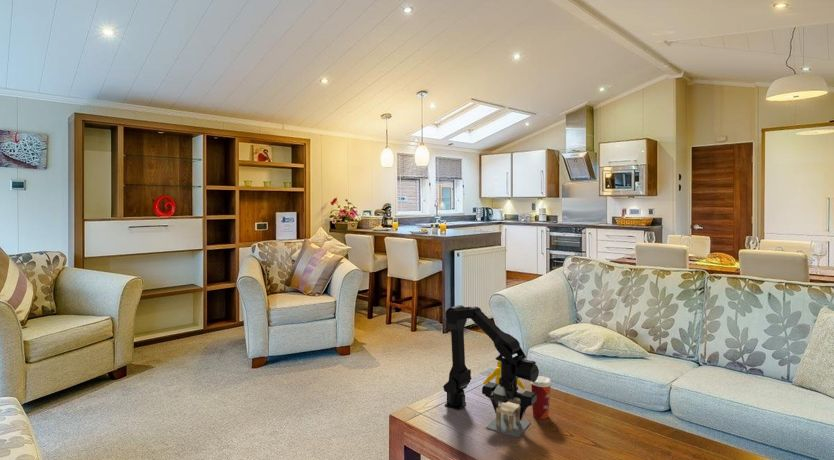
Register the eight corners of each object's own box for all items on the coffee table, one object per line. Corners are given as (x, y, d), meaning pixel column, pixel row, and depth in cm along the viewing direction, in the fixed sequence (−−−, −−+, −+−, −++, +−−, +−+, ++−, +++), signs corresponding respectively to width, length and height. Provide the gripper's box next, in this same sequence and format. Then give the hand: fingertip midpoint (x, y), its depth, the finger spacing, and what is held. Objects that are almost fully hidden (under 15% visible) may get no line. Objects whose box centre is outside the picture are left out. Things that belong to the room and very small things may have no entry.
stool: (504, 418, 169) (504, 400, 168) (520, 422, 165) (520, 404, 165) (496, 426, 163) (496, 408, 162) (511, 431, 159) (512, 412, 159)
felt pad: (485, 428, 162) (485, 427, 162) (499, 414, 172) (499, 413, 172) (518, 437, 156) (518, 436, 156) (530, 423, 166) (530, 422, 166)
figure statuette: (481, 392, 192) (482, 341, 191) (485, 385, 200) (485, 336, 198) (524, 398, 186) (525, 345, 185) (526, 391, 194) (527, 340, 192)
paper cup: (552, 421, 167) (552, 384, 166) (530, 419, 169) (530, 382, 168) (550, 411, 175) (550, 376, 174) (529, 409, 176) (530, 374, 175)
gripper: (475, 375, 161) (475, 418, 162) (525, 387, 151) (525, 433, 152) (488, 366, 170) (488, 406, 172) (537, 376, 160) (536, 419, 161)
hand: (508, 416), depth 164 cm, fingers open, 9 cm apart
